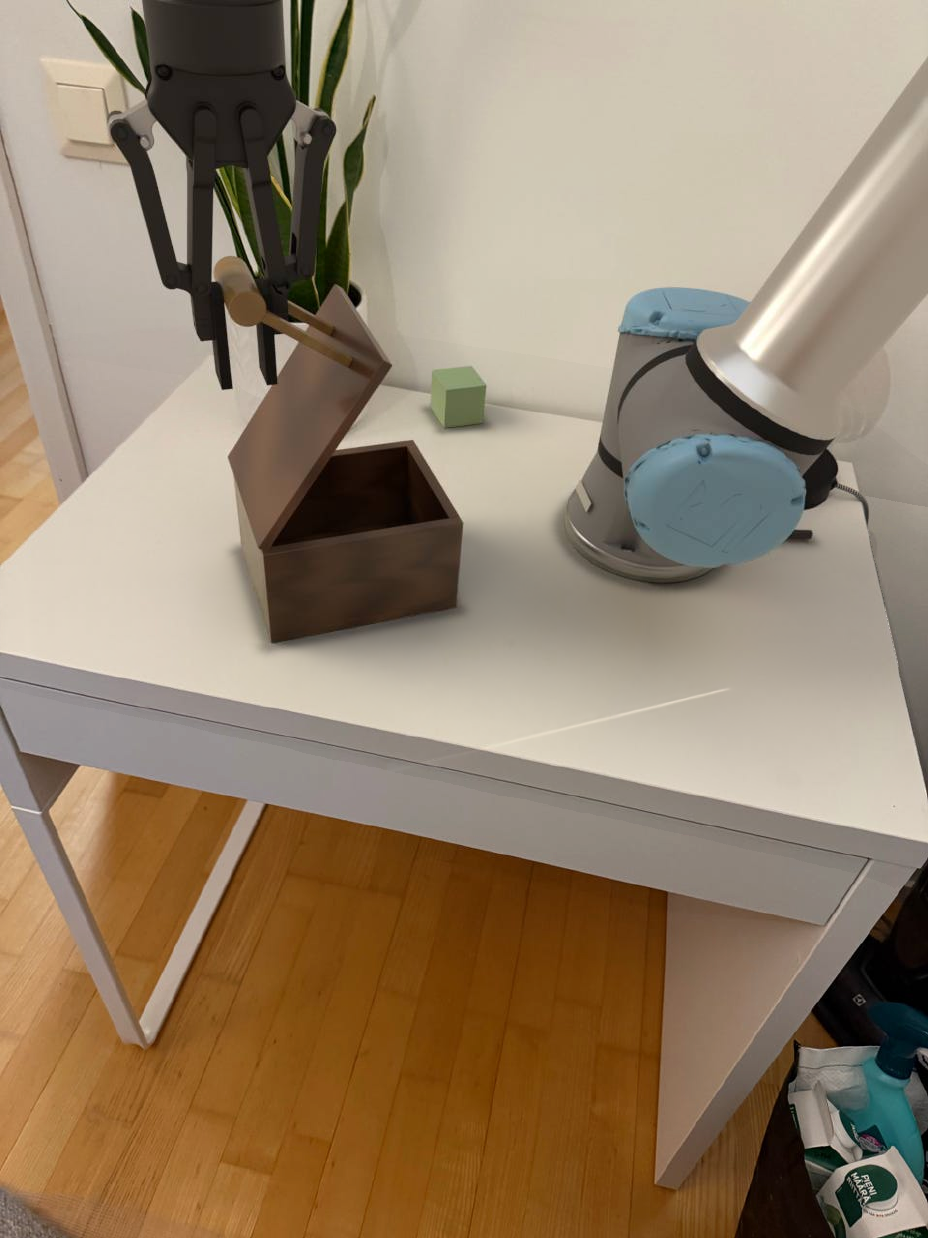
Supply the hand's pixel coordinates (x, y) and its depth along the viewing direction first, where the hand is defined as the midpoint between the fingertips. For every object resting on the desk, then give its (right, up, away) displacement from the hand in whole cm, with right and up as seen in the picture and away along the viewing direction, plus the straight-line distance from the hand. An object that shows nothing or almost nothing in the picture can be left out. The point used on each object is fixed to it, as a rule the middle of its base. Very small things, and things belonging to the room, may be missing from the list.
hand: (246, 377), depth 66 cm
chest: (+5, -13, +15) cm, 21 cm away
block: (+15, +5, +37) cm, 40 cm away
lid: (+4, -2, +4) cm, 6 cm away
